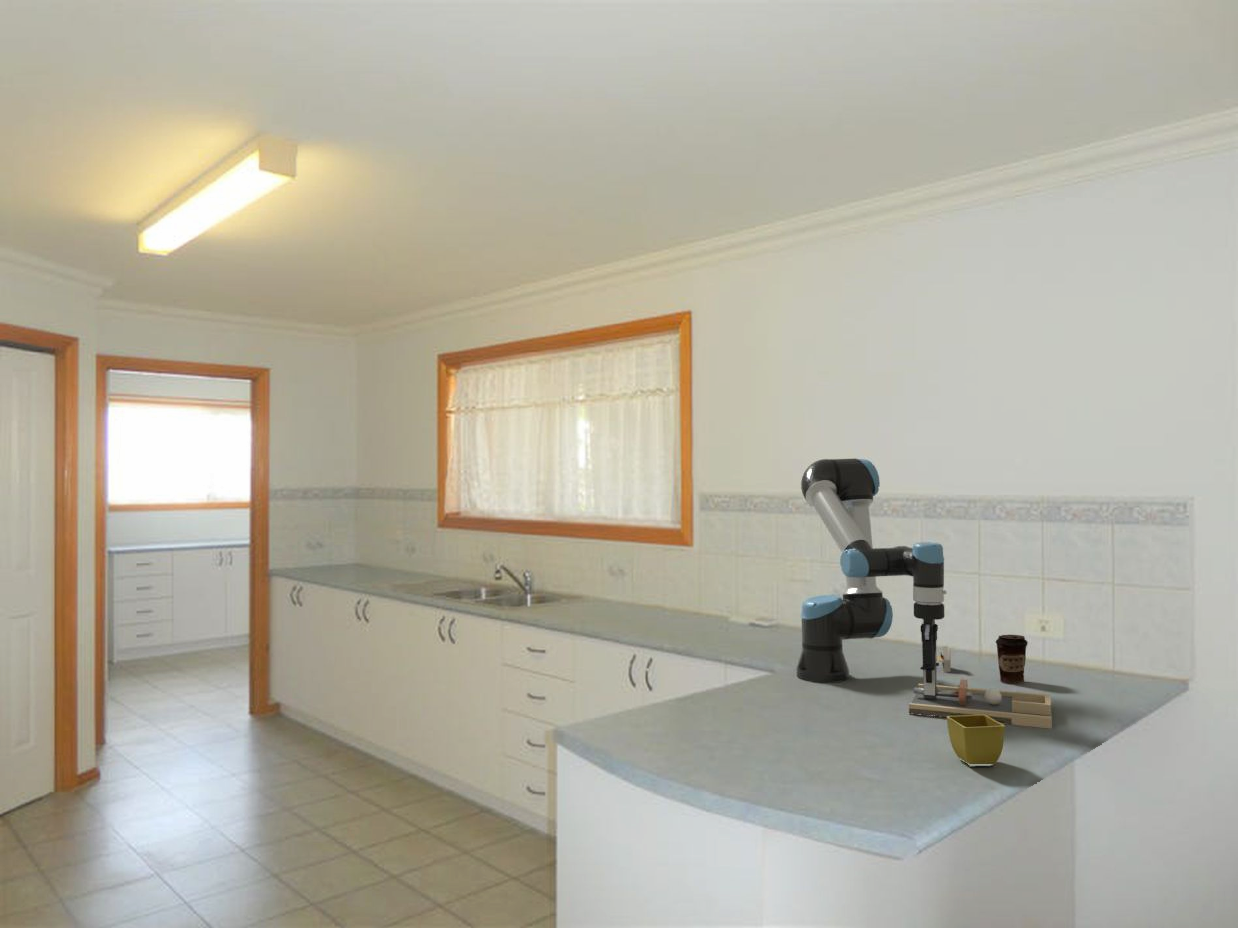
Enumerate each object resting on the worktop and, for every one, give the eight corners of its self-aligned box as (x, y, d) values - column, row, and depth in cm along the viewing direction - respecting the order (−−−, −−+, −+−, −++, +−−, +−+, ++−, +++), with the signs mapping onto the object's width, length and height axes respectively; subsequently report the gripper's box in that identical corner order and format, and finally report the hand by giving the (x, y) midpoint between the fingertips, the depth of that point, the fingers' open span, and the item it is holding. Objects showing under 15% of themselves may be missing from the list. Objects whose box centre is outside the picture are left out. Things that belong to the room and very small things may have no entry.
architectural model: (938, 673, 263) (938, 648, 263) (934, 667, 270) (934, 643, 270) (950, 673, 262) (950, 648, 262) (946, 668, 269) (946, 643, 269)
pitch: (909, 714, 219) (908, 698, 219) (918, 692, 239) (918, 678, 239) (1051, 728, 206) (1051, 711, 206) (1049, 704, 226) (1049, 689, 226)
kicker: (912, 700, 225) (911, 653, 225) (916, 691, 233) (915, 646, 233) (970, 705, 219) (970, 657, 219) (972, 697, 228) (972, 650, 228)
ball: (984, 705, 220) (983, 689, 220) (984, 701, 224) (984, 686, 224) (1001, 707, 219) (1001, 691, 219) (1001, 703, 222) (1001, 687, 222)
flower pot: (946, 757, 187) (945, 715, 187) (985, 755, 188) (984, 713, 188) (965, 771, 178) (965, 727, 178) (1006, 769, 179) (1006, 725, 179)
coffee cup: (1032, 686, 244) (1031, 639, 244) (1000, 685, 246) (999, 638, 246) (1024, 678, 253) (1023, 633, 253) (993, 677, 255) (992, 632, 255)
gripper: (941, 608, 219) (942, 702, 219) (946, 598, 233) (948, 686, 233) (909, 606, 222) (911, 699, 222) (917, 597, 237) (918, 684, 237)
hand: (930, 692), depth 228 cm, fingers closed on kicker, 3 cm apart
